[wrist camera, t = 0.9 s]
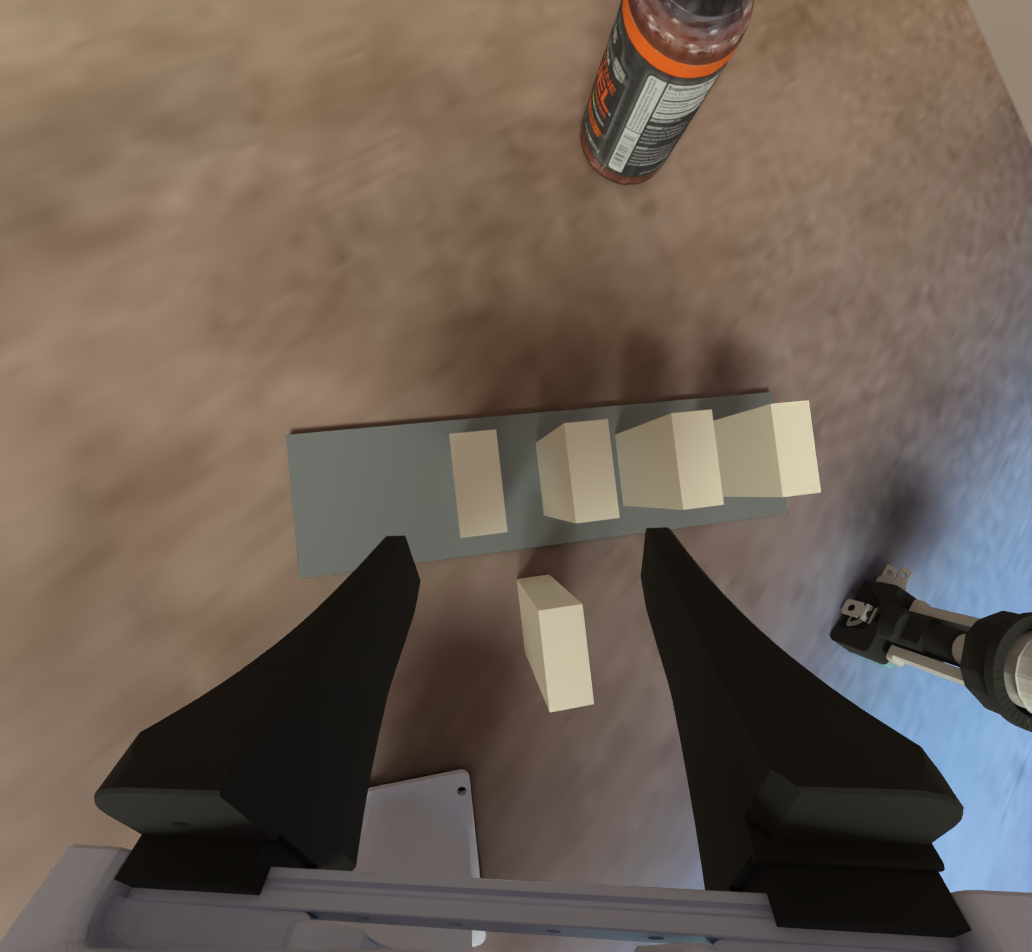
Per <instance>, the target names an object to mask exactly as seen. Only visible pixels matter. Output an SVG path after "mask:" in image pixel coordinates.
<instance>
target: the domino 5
mask: <svg viewBox="0 0 1032 952" xmlns="http://www.w3.org/2000/svg"><path fill="white" fill-rule="evenodd" d="M713 423H714V430H715V438H716V446H717V454H718V462H719V470H720V478H721V486H722V493H723V497H789V496H796V495H804V494H812V493H820V492H821V489H820V482H819V474H818V467H817V459H816V452H815V444H814V437H813V429H812V422H811V414H810V407H809V400H808V401H797V402H786V403H776V404H769V405H765V406H762V407H759V408H755V409H752V410H748V411H745V412H741V413H738V414H735V415H731V416H728V417H724V418H721V419H717V420H714V421H713Z"/></svg>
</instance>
